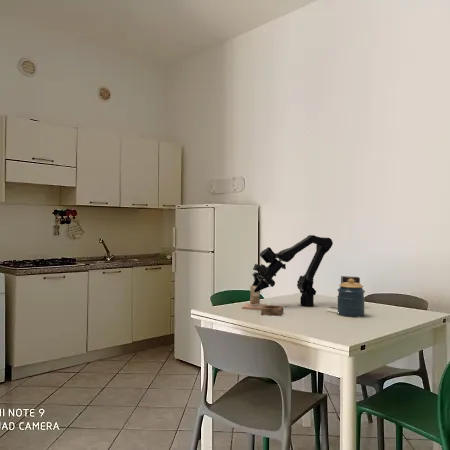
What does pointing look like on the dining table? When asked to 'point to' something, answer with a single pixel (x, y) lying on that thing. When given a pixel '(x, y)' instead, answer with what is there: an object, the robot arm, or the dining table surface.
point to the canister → (351, 299)
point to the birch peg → (254, 296)
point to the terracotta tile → (253, 306)
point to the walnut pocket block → (272, 310)
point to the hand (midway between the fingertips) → (252, 290)
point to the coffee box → (346, 278)
